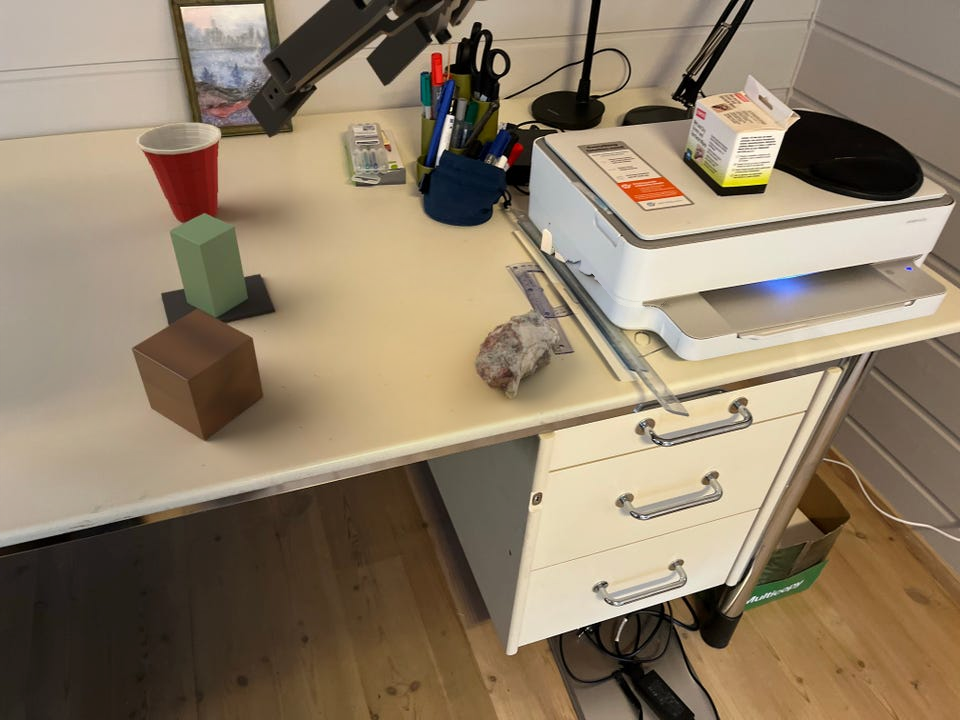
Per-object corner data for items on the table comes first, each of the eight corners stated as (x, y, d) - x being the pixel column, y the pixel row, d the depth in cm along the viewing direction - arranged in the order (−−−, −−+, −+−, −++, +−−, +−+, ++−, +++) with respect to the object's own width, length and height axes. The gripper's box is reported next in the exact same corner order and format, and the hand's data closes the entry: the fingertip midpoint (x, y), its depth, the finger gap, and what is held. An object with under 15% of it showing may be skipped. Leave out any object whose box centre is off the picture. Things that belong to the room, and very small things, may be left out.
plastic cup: (222, 189, 113) (207, 111, 105) (246, 221, 106) (231, 141, 98) (147, 205, 108) (125, 125, 100) (167, 240, 101) (145, 157, 94)
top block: (216, 318, 88) (199, 245, 82) (187, 303, 90) (169, 230, 84) (248, 298, 91) (234, 226, 85) (219, 284, 93) (204, 212, 87)
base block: (204, 441, 74) (188, 381, 69) (150, 407, 77) (131, 348, 72) (264, 396, 79) (252, 337, 74) (211, 367, 82) (197, 308, 77)
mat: (170, 334, 86) (169, 330, 86) (161, 296, 92) (160, 293, 91) (275, 311, 91) (274, 308, 90) (260, 276, 96) (260, 273, 96)
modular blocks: (540, 249, 104) (543, 224, 102) (573, 233, 108) (576, 208, 105) (656, 315, 94) (662, 289, 91) (687, 295, 98) (694, 269, 95)
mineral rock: (523, 318, 92) (526, 288, 89) (578, 345, 88) (583, 315, 85) (445, 379, 83) (446, 348, 80) (503, 412, 79) (506, 381, 76)
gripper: (401, 7, 37) (235, 192, 53) (615, -67, 54) (440, 90, 69) (311, -133, 36) (167, 98, 51) (559, -165, 52) (393, 18, 68)
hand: (323, 94), depth 60 cm, fingers open, 13 cm apart
